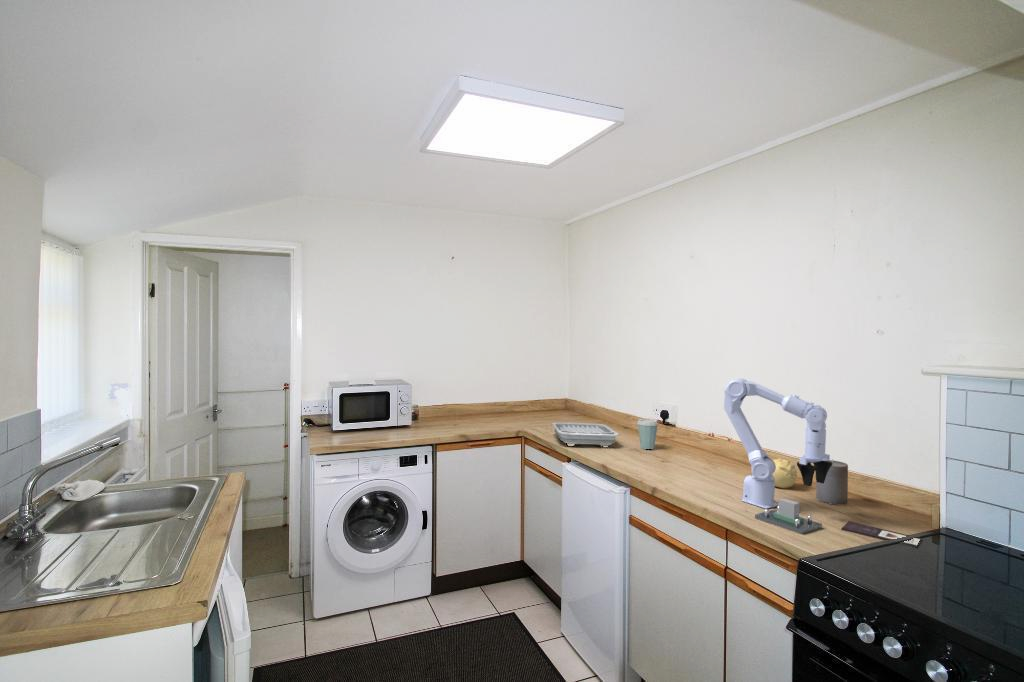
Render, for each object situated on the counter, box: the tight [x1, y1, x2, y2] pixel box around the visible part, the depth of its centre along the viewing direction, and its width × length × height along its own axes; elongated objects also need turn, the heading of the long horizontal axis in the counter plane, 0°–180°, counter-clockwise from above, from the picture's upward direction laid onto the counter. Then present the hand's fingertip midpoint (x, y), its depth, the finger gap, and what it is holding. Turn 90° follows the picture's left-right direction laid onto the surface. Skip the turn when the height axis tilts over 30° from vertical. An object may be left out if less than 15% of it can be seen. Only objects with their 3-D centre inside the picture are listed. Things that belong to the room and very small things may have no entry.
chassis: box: [754, 506, 823, 535], centre depth 163 cm, size 15×11×3 cm
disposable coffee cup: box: [636, 418, 659, 450], centre depth 266 cm, size 11×11×15 cm
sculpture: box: [772, 458, 798, 489], centre depth 205 cm, size 12×12×11 cm
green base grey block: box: [773, 498, 804, 524], centre depth 163 cm, size 7×4×6 cm, turn 31°
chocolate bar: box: [841, 520, 922, 549], centre depth 155 cm, size 9×1×18 cm
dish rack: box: [551, 421, 620, 447], centre depth 280 cm, size 32×37×8 cm
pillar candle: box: [815, 459, 849, 505], centre depth 187 cm, size 10×10×15 cm
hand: (813, 484), depth 172 cm, fingers open, 7 cm apart
